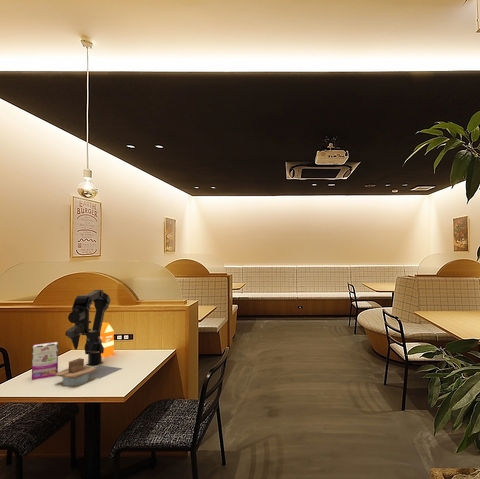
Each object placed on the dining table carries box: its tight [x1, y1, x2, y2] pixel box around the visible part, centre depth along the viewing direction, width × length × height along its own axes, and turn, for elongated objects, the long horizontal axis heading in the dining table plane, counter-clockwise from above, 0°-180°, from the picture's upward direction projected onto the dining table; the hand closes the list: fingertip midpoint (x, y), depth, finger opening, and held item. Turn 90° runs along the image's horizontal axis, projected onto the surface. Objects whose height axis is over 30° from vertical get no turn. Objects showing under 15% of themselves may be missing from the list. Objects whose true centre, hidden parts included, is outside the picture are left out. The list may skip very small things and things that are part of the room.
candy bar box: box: [31, 341, 59, 381], centre depth 164 cm, size 11×5×16 cm, turn 118°
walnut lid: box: [54, 357, 97, 379], centre depth 156 cm, size 13×13×6 cm
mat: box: [89, 364, 123, 379], centre depth 169 cm, size 16×16×1 cm
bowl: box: [62, 373, 90, 387], centre depth 155 cm, size 11×11×4 cm
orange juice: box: [100, 321, 115, 358], centre depth 201 cm, size 8×9×20 cm
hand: (82, 350), depth 168 cm, fingers open, 9 cm apart
